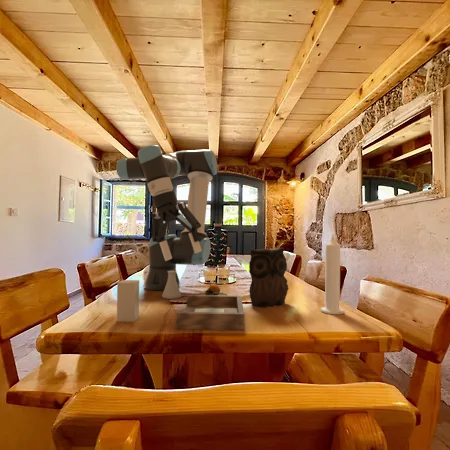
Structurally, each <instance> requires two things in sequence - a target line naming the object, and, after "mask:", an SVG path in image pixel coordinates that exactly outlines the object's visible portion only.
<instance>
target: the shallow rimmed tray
mask: <svg viewBox="0 0 450 450" xmlns="http://www.w3.org/2000/svg"><path fill="white" fill-rule="evenodd" d="M242 300H243V299H242V296H241V295H227V296H221V295H197V294H187V295H186V305H185V307H184V309H183V311H176V313H175V314H176V318H175V320H176V321H175V328H176V330H206V329H207V331H208V330H212V331H215V330H217V331H218V330H219V331H221V330H224V331H228V330H230V331H245V310H244V304H243V301H242Z"/></svg>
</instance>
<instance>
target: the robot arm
mask: <svg viewBox="0 0 450 450" xmlns="http://www.w3.org/2000/svg"><path fill="white" fill-rule="evenodd" d="M115 168H116V174H117V176H118V177H119V178H120V179H121V180H129V181H130V180H142V179H145V180H146V184H147V187H148V190H149V193H150V195H151V196H152V198H151V199H152V204H153V207H154V209H157V212H151V219H152V232H151V233H152V235H151V236H152V237H151V238H150V239H149V247H148V250H149V256H148V257H149V258H148V259H149V263H148V264H149V267H148V272H147V276H146V279H145V281H144V289H146V290H151V291H164V289H165V287H166V284H167V281H168V271H176V282H177V285H178V288H179V289H180V287H181V283H180V279H179V275H178V272H177V265H188V266H189V265H191V266H202V265H205V263H207V261H208V259H209V258H210V254H211V240H210V239H209V238H208V234H207V233H206V232H205V225H206V213H207V206H208V197H209V196H208V195H209V186H210V184H209V183H210V182H211V181H213V178H214V177H213V176H215V175H217V174H218V160H217V157H216V154H215V152H214V150H211V149H205V148H204V149H195V150H193V149H192V150H180V151H175V152H170V153H165V154H163V151H162V149H161V147H160V146H159V145H157V144H150V145H147V146H144V147H142V148H140V149H139V150H138V151H137V157H130V158H129V157H125V158H120V159H118V161H117V162H116V165H115ZM178 176H187V178H188V179H189V188H188V189H189V190H188V198H187V199H188V200H187V204H186V202H185V201H182V202H178V199H177V196H176V192H175V191H174V186H173V183H172V179H175V178H177V177H178ZM177 202H178V203H177ZM173 221H176V222H178V223H179V224H180V225H181V226H183V227H184V230H182V231H181V232H180V237H178V236H177V234H174V233H173V234H167V228H168V226H169V223H170V222H173Z"/></svg>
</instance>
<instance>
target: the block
mask: <svg viewBox="0 0 450 450" xmlns="http://www.w3.org/2000/svg"><path fill="white" fill-rule="evenodd" d="M116 285H117V286H116V288H117V289H116V290H117V291H116V294H117V297H116V299H117V300H116V322H126V323H127V322H133V323H134V322H136V321H137V320H138V319H139V317H140V280H138V279H137V280H136V279H134V280H133V279H131V280H130V279H122V280H119V281H118V282H117V284H116Z"/></svg>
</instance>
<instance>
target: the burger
mask: <svg viewBox="0 0 450 450" xmlns="http://www.w3.org/2000/svg"><path fill="white" fill-rule="evenodd" d="M196 295H221V296H228V294H227V293H225V292H221V288H220V286H219V285H218V283H217V284H216V283H212V284H209V287H208V288H207V289H206V290H205V292H199V293H197V294H196Z"/></svg>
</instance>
